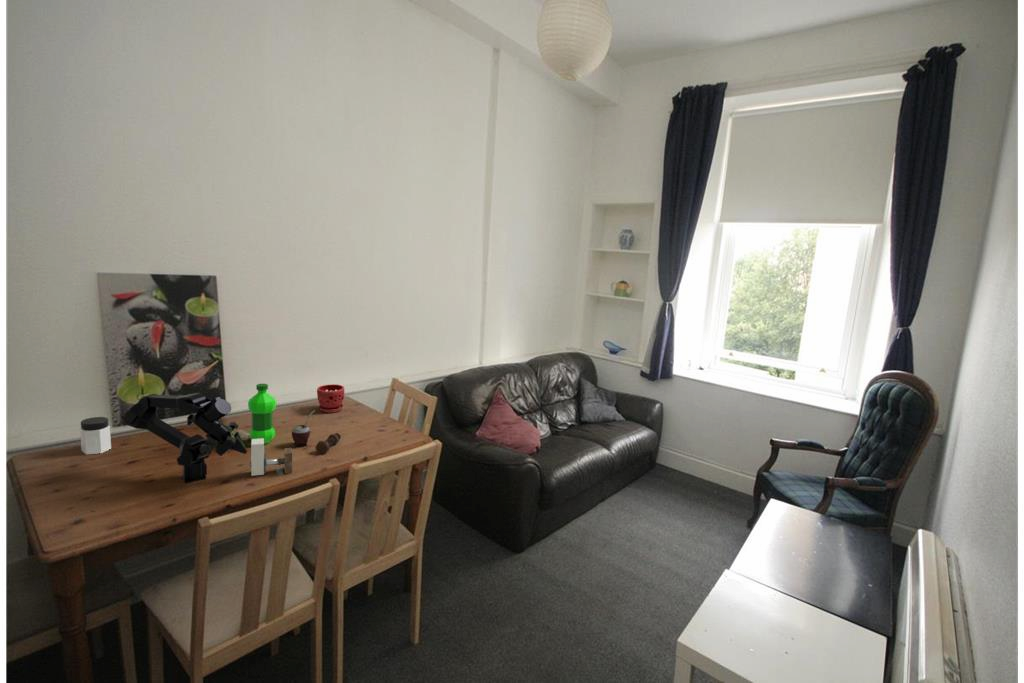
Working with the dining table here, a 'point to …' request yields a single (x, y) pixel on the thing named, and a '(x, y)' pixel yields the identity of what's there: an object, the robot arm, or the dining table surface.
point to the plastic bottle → (262, 414)
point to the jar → (95, 435)
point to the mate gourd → (301, 434)
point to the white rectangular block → (258, 457)
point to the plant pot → (330, 397)
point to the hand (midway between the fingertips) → (246, 452)
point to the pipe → (274, 461)
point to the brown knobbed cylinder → (327, 443)
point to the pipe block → (286, 462)
